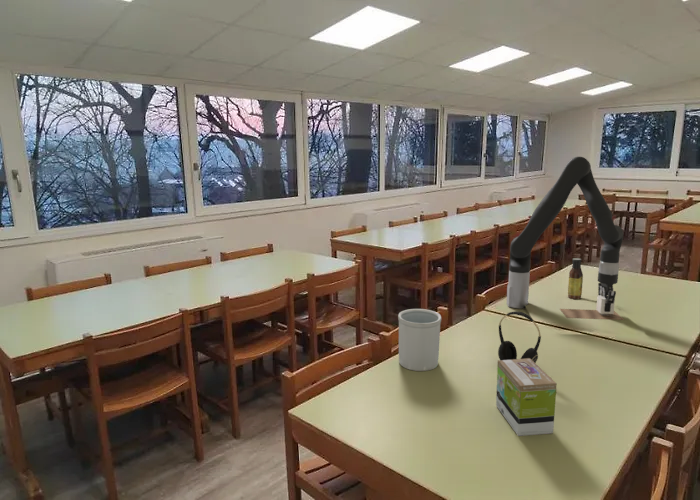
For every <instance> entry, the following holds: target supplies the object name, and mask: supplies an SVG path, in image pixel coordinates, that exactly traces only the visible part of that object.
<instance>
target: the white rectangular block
mask: <svg viewBox="0 0 700 500" xmlns="http://www.w3.org/2000/svg"><path fill="white" fill-rule="evenodd" d="M615 299H616V298H615ZM615 299H614V303H613V304H611V308H610V312H605V311H604V309H605V298H604V297H603V295H602V296H601V295H597V298H596V309H595V310H597V311H598V312H599V313H601V314H614V311H615V302H616V300H615ZM609 301H610V299H609Z"/></svg>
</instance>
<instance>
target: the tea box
mask: <svg viewBox="0 0 700 500" xmlns="http://www.w3.org/2000/svg"><path fill="white" fill-rule="evenodd" d="M496 370H497V374H496V395H495V396H496V397H495V405H496V407H497V409H498V410H499V411H500V413H501V415H502V416H503V417H504V418H505V420H506V421H507V423H508V424H509V425H510V427H511V428H512V430H513V431H514V432H515V433H516V435H517V436H518V437H521V436H522V437H523V436H534V435H535V436H537V435H538V436H539V435H548V434H553V433H554V428H555V413H556V412H555V411H556V399H557V382H556V381H555V380H554V379H553V378H552V377H550V376H549V374H547V373H546V372H545V370H543V369H542V368H541V367H540V366H539V365H538V364H537V362H536V363H534V362H533V361H532V360H531V359H530V358H526V359H521V358H518V359H513V360H500V359H498V360H497V368H496Z"/></svg>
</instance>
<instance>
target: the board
mask: <svg viewBox="0 0 700 500" xmlns="http://www.w3.org/2000/svg"><path fill="white" fill-rule="evenodd" d="M559 310H560V311H561V313H562V314H563V315H564V316H565V317H566V318H567V319H583V320H584V319H585V320H586V319H589V320H592V319H593V320H610V321H611V320H613V321H617V320H618V321H625V319H624V318H623V317H622V316H621V315H620V314H618V312H616V311H615V310H614V314H609V316H602V315H601V314H600V313H599V312H598V311H597V310H596V309H578V308H577V309H574V308H573V309H571V308H559Z"/></svg>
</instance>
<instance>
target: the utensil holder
mask: <svg viewBox="0 0 700 500" xmlns="http://www.w3.org/2000/svg"><path fill="white" fill-rule="evenodd" d="M397 319H398V362H399V365H400V366H401V367H403V368H405V369H407V370H410V371H416V372H425V371H426V372H427V371H431V370H434V369H435V368H437V366H438V365H439V358H440V357H439V355H440V353H439V352H440V340H441V339H440V337H441V323H442V315H441V314H440V313H439V312H436V311H435V310H431V309H425V308H410V309H405V310H402V311H400V312H399V313H398V316H397Z"/></svg>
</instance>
